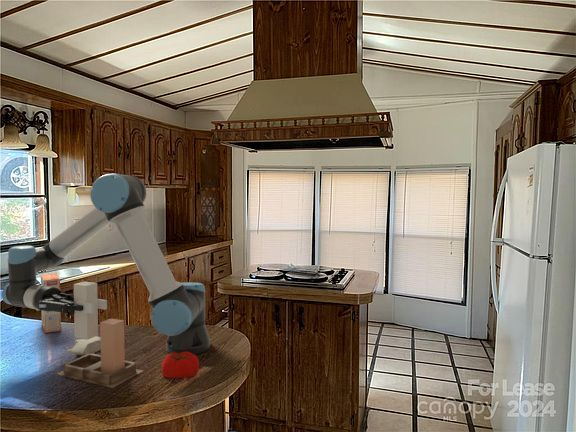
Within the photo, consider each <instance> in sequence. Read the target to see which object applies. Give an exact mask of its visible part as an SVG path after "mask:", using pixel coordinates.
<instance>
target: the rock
mask: <svg viewBox="0 0 576 432" xmlns="http://www.w3.org/2000/svg"><path fill="white" fill-rule="evenodd" d="M124 342H126V340H125V339H124ZM99 351H101V338H100V336H99V335H98V336H95V337H93V338H90V339H88V340H86V339H81V338H78V339H75V340H74V346H72V347H71V348H69V349H67V350H66V352H67V353H69V354H73V355H77V356H84V355H87V354H92V353H93V354H96V353H97V352H99Z"/></svg>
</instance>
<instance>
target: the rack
mask: <svg viewBox="0 0 576 432" xmlns="http://www.w3.org/2000/svg"><path fill="white" fill-rule="evenodd" d="M142 372H144V370H142V369H139V368H138V369H137V363H136V362H135V361H130V360H125V368H123V369H121V370H119V371H117V372H115V373H113V374H107V373H103V372H101V354H96V353H92V354H87V355H81V356H80V357H77V358H75V359H73V360H70V361H68V362H66V363H64V364H63V370H61V371H59V372H56V373H55V375H59V376H62V377H66V378H70V379H75V380H78V381H83V382H86V383H90V384H93V385H94V384H95V385H99V386H103V387H106V388H107V387H108V388H111V389H115V387H117V386H119V385H121V384H123V383H124V382H126V381H128V380H130V379H132V378H133V377H136V376H137V375H139V374H140V373H142Z"/></svg>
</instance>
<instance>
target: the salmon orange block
mask: <svg viewBox="0 0 576 432" xmlns="http://www.w3.org/2000/svg"><path fill="white" fill-rule="evenodd" d="M99 328H100V334H99V335H100V336H99V337H100V338H101V350H100V355H101V372H103V373H107V374H113V373H115V372H117V371H119V370H121V369H123V368H125V359H126V357H125V354H126V353H125V352H126V351H125V341H124V340H125V320H123V319H116V318H109V319H106V320H103V321H101V322H99Z"/></svg>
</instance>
